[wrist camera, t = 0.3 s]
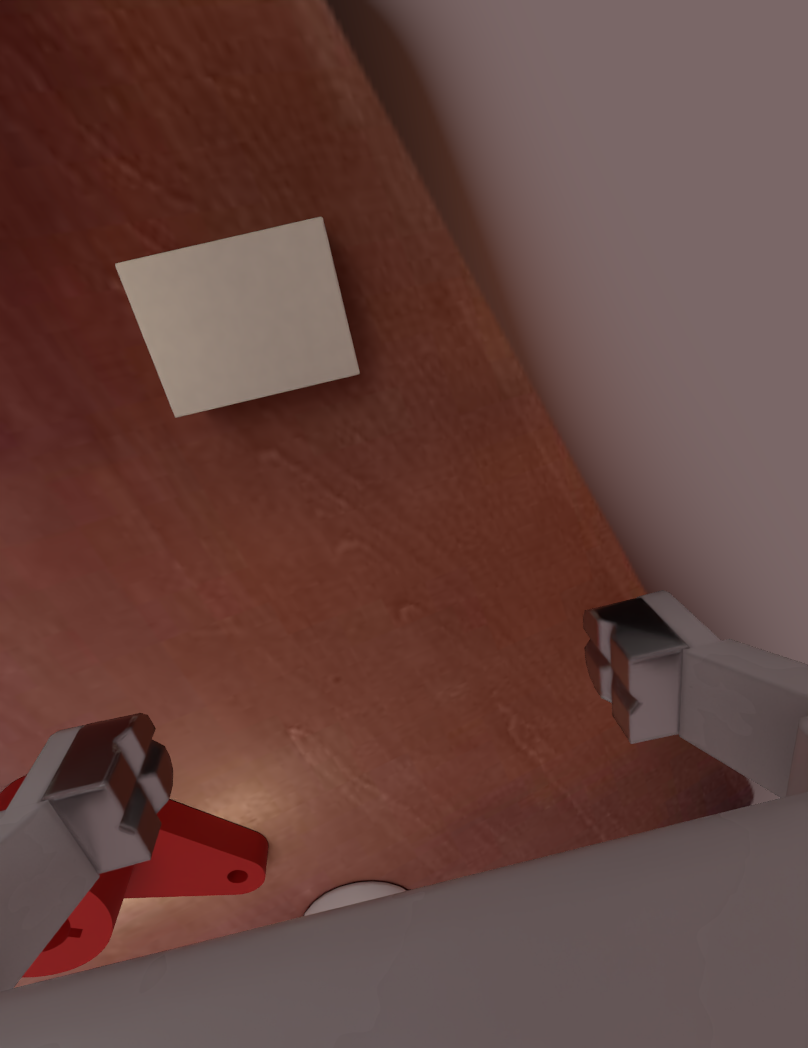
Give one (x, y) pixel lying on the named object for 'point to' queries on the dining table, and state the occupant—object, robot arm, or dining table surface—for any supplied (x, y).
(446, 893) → the robot arm
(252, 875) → the lever
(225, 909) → the dining table surface
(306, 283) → the beige rectangular block
